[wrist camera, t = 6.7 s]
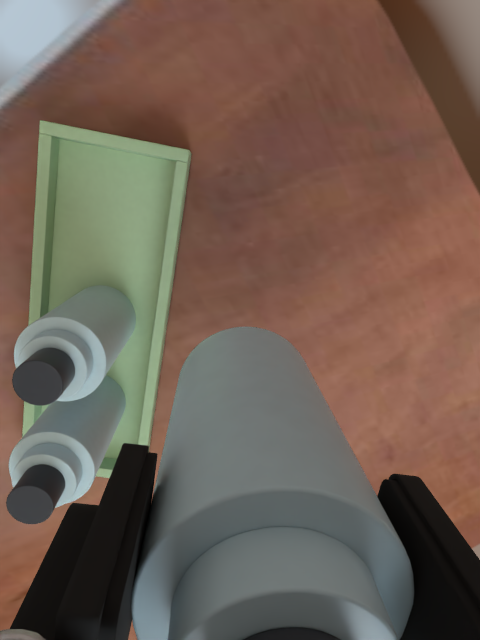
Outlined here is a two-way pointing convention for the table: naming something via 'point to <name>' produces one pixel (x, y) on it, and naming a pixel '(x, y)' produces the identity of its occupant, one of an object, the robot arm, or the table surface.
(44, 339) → the row bottle middle
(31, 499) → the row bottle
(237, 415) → the loose bottle
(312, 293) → the table surface
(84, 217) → the tray
